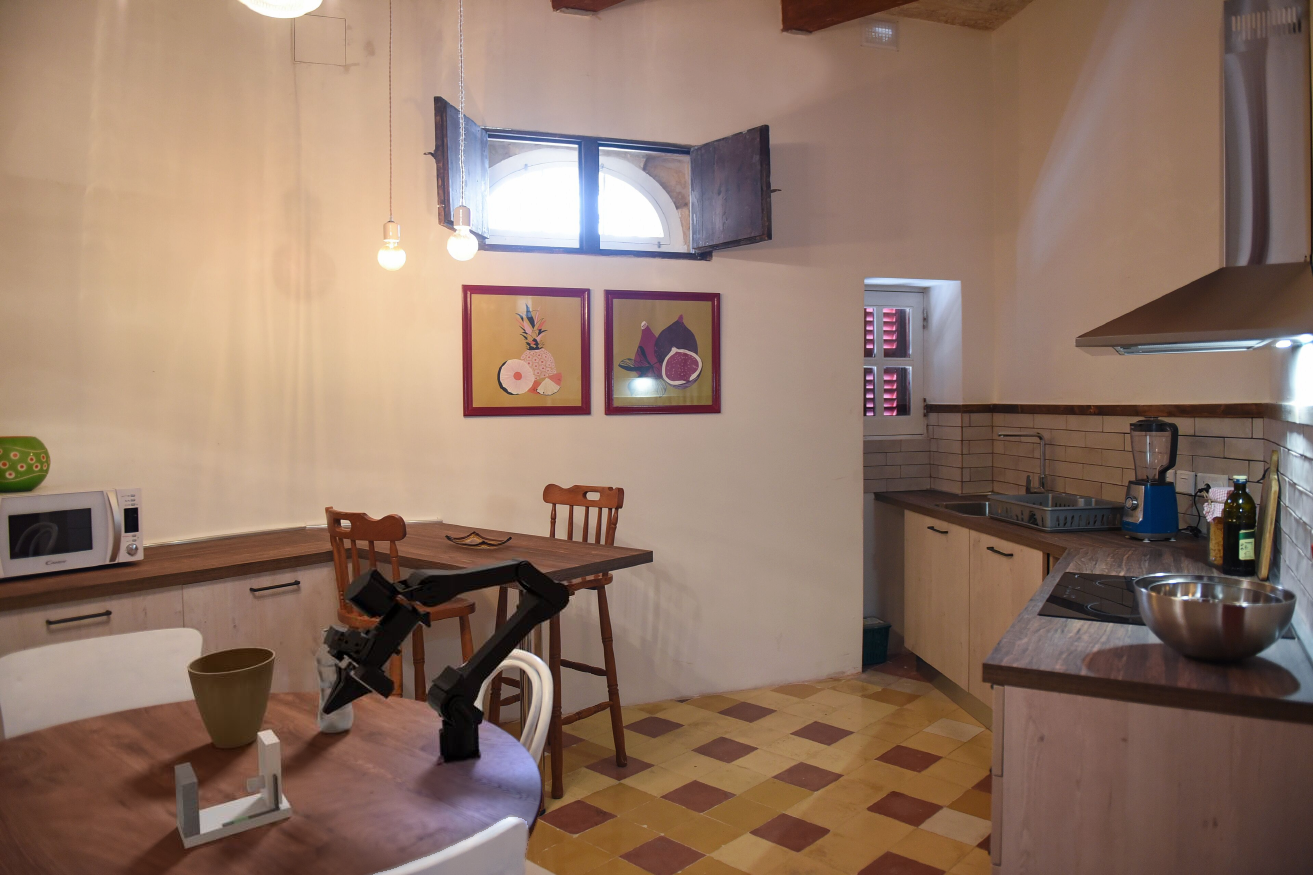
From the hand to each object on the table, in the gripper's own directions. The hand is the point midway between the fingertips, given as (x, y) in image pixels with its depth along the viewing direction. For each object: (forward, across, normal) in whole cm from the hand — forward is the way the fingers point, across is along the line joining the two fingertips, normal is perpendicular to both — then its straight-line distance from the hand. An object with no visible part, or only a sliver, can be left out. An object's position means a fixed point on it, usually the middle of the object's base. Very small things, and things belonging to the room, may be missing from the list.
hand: (324, 712), depth 134 cm
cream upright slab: (+15, +1, +1) cm, 15 cm away
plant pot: (+15, -33, +4) cm, 37 cm away
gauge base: (+19, 0, 0) cm, 19 cm away
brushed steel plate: (+23, 0, -6) cm, 23 cm away
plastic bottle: (+4, -26, +16) cm, 30 cm away
